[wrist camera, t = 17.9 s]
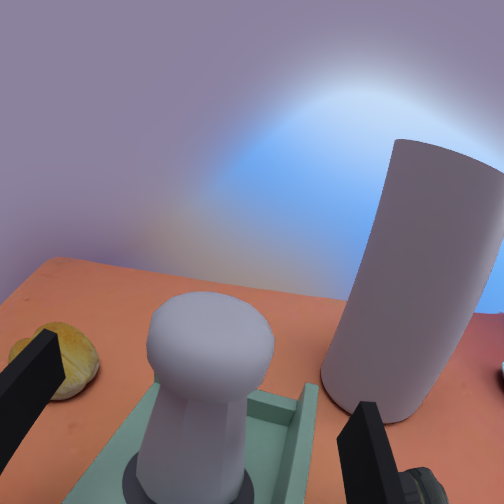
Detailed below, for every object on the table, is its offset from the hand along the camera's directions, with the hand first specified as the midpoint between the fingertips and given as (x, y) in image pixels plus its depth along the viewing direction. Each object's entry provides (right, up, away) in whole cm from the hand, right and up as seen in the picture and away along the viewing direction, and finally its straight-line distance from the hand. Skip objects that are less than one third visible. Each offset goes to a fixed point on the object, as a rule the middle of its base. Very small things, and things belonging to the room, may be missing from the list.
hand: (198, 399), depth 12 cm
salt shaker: (-2, -8, +3) cm, 9 cm away
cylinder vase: (+15, -9, +19) cm, 26 cm away
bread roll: (-16, -5, +12) cm, 21 cm away
